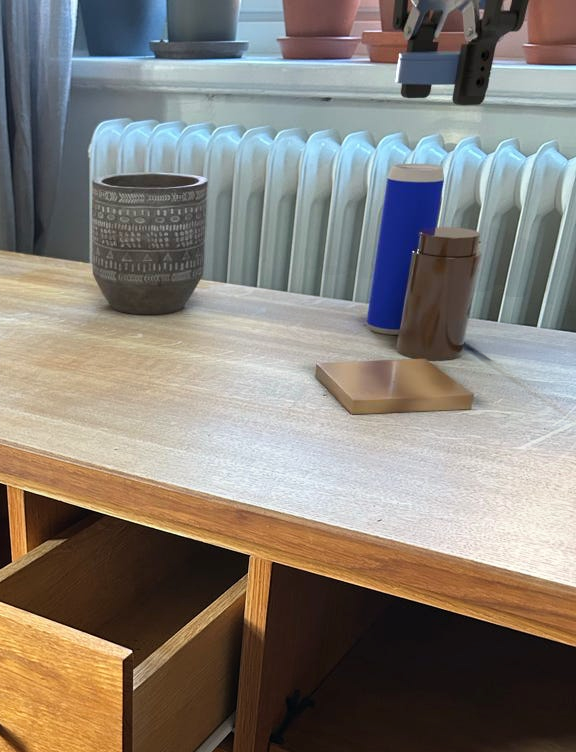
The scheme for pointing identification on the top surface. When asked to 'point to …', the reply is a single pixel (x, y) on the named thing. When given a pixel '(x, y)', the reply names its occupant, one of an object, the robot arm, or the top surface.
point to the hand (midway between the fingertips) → (440, 100)
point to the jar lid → (428, 67)
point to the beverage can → (401, 238)
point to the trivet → (392, 386)
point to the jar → (439, 293)
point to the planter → (148, 239)
